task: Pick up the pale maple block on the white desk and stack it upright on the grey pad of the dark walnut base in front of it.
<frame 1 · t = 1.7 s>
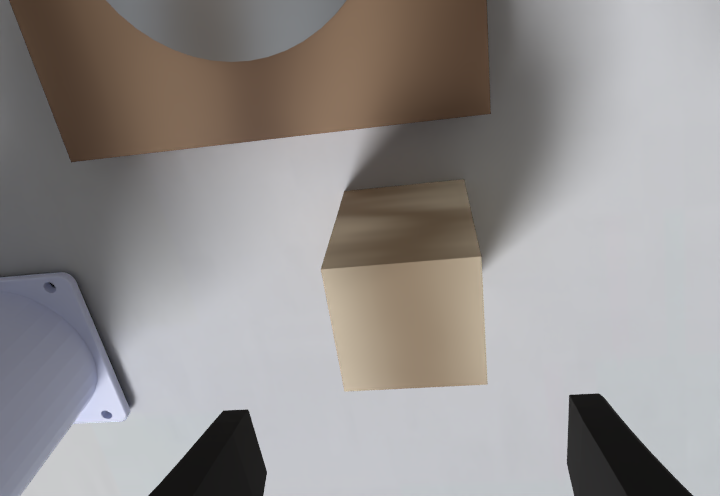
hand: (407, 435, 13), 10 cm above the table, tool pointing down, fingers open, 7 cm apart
maple block: (409, 238, 22), on the table
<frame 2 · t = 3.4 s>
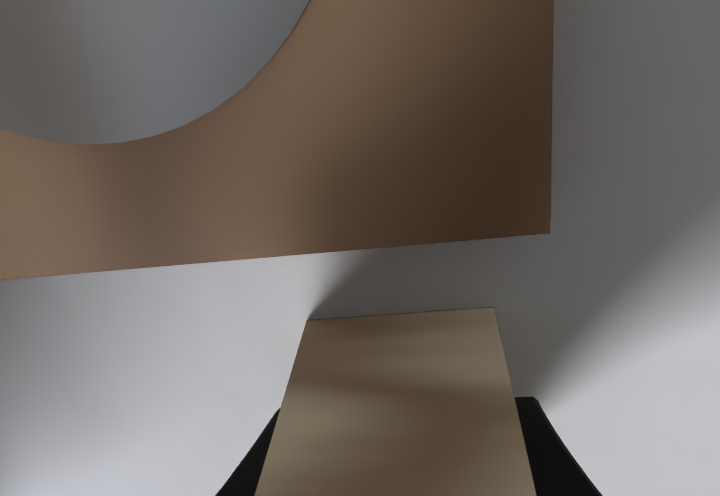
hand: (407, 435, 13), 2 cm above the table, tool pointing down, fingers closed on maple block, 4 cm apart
maple block: (407, 386, 14), on the table, touching gripper
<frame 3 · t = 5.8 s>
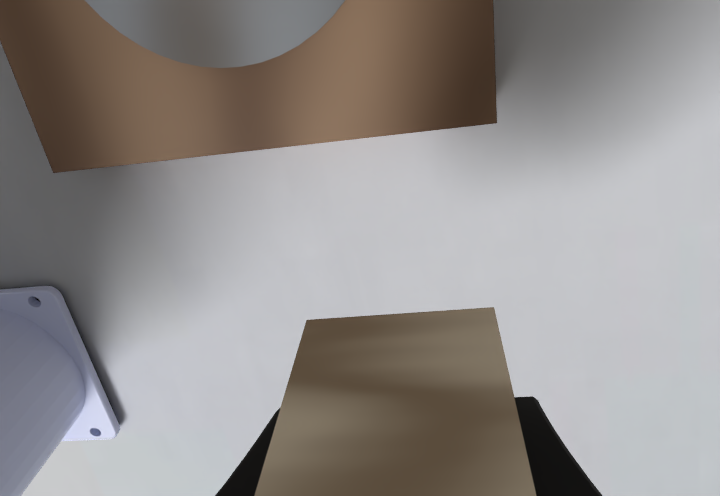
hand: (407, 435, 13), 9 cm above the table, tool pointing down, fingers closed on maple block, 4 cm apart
maple block: (407, 386, 14), point 7 cm above the table, touching gripper
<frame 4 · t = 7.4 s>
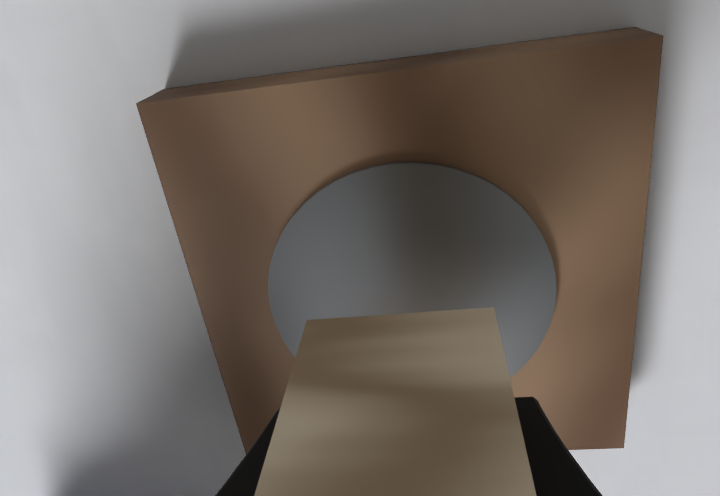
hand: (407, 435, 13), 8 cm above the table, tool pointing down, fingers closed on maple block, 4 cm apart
maple block: (407, 386, 14), point 6 cm above the table, touching gripper
walnut base: (409, 265, 20), on the table
when the fingers open (5 cm above the table, at t = 8.4 s): maple block drops 1 cm, resting on walnut base.
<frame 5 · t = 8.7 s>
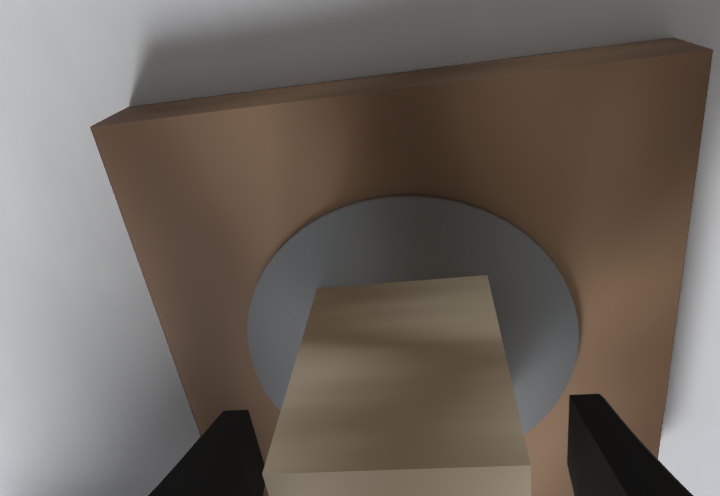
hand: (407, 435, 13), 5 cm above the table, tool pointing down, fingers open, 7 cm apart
maple block: (409, 350, 15), point 2 cm above the table, touching walnut base
walnut base: (409, 305, 17), on the table
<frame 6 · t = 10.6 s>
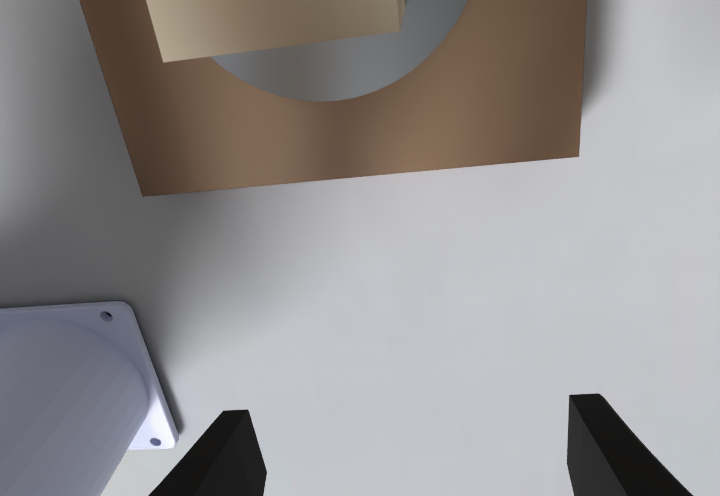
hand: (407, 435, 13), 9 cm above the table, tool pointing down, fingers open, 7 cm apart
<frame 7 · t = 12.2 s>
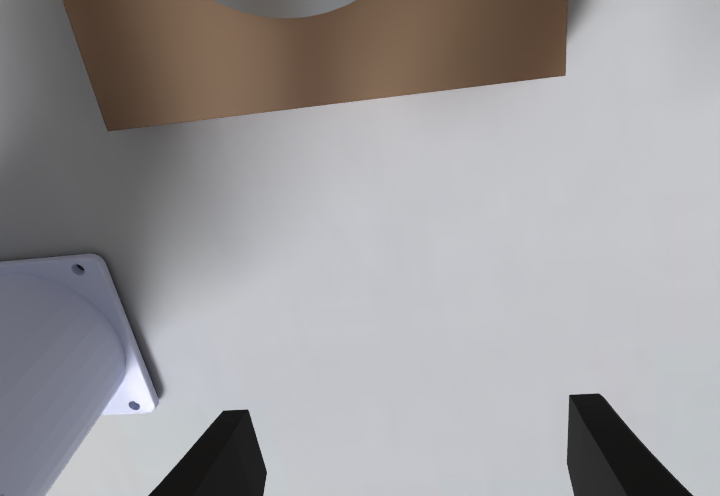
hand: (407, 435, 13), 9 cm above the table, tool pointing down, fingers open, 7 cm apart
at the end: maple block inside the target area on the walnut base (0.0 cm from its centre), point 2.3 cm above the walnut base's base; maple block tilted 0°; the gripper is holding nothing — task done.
